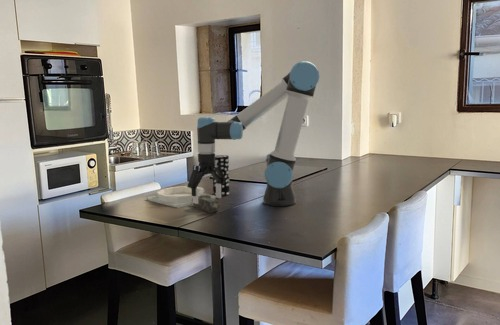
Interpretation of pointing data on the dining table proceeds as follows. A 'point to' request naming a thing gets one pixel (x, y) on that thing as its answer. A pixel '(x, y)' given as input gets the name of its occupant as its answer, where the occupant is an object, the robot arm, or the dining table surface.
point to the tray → (155, 199)
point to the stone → (207, 204)
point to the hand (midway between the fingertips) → (207, 200)
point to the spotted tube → (225, 169)
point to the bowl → (178, 194)
